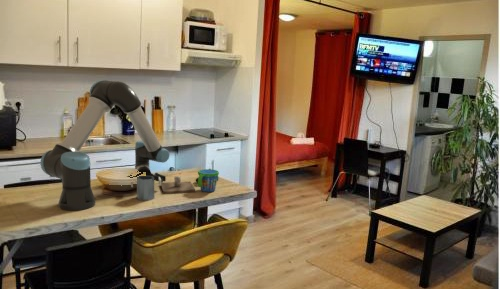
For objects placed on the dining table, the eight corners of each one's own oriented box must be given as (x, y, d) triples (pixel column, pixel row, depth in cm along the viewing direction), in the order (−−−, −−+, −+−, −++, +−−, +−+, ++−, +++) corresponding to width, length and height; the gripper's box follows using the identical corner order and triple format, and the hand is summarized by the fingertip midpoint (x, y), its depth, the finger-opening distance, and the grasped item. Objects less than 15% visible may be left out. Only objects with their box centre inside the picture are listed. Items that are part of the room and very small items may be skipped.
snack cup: (210, 185, 224) (210, 167, 223) (225, 189, 218) (225, 170, 217) (190, 191, 212) (190, 172, 210) (205, 195, 206) (205, 175, 204)
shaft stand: (163, 193, 206) (163, 181, 205) (160, 185, 221) (160, 173, 220) (195, 192, 211) (195, 180, 210) (190, 183, 226) (190, 172, 225)
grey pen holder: (137, 200, 194) (137, 180, 192) (136, 195, 202) (136, 176, 200) (154, 199, 196) (154, 179, 195) (153, 194, 204) (153, 175, 202)
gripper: (167, 178, 227) (172, 189, 207) (119, 181, 219) (119, 192, 199) (167, 165, 225) (172, 175, 206) (119, 167, 218) (119, 177, 198)
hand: (146, 183), depth 202 cm, fingers open, 13 cm apart
